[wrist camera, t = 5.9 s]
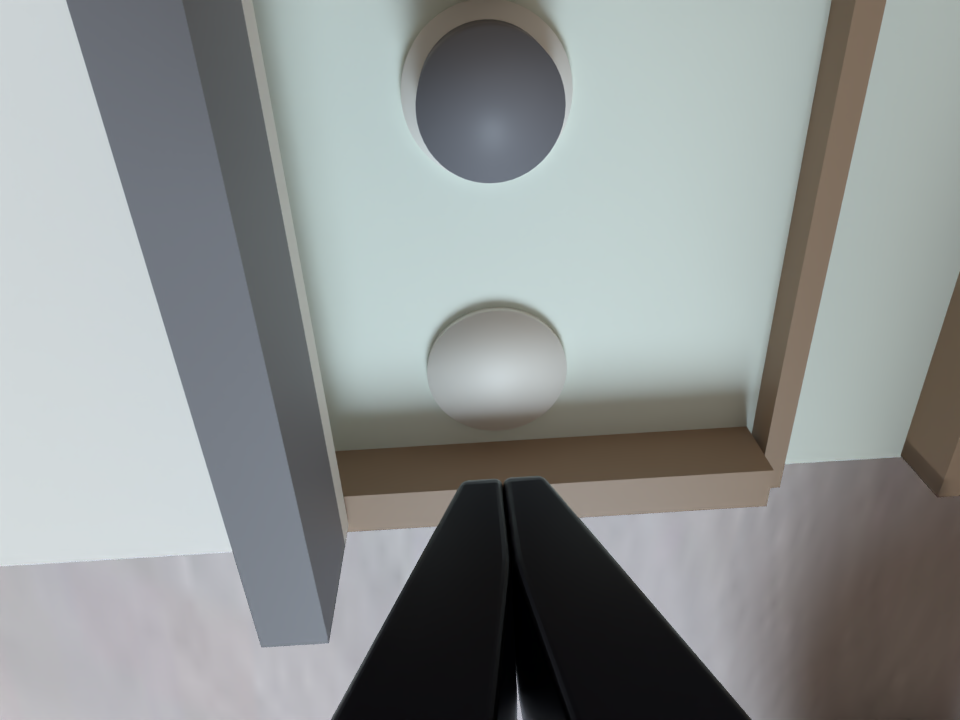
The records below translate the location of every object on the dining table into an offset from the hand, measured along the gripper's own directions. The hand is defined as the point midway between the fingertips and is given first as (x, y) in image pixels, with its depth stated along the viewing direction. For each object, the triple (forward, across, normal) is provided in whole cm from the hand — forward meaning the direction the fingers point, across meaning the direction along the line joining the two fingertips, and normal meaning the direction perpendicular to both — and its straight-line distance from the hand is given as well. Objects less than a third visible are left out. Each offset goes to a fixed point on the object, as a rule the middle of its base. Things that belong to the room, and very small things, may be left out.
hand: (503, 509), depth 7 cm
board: (+9, -6, 0) cm, 11 cm away
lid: (+6, +9, 0) cm, 10 cm away
